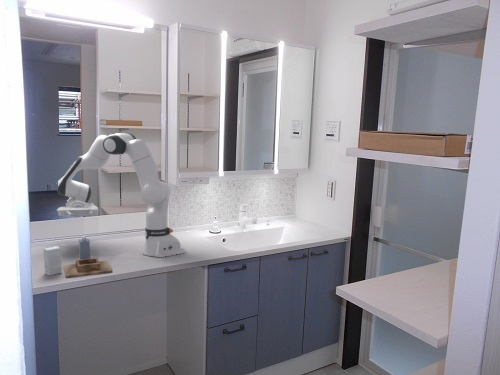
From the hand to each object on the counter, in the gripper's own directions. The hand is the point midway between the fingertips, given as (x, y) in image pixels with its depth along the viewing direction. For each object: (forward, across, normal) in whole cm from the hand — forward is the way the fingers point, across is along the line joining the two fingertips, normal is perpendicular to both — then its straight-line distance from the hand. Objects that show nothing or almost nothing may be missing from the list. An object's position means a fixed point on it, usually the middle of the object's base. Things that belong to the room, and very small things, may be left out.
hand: (80, 214), depth 216 cm
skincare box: (+24, -15, +22) cm, 36 cm away
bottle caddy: (+26, 0, +21) cm, 33 cm away
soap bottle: (+12, +1, +21) cm, 25 cm away
